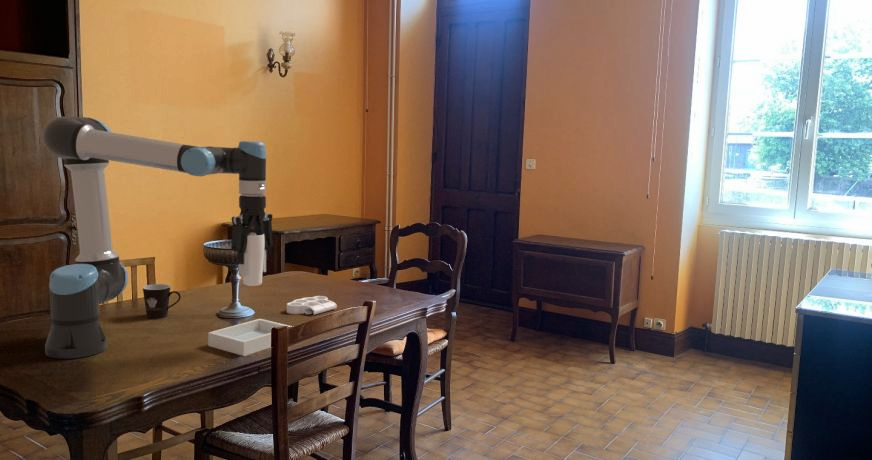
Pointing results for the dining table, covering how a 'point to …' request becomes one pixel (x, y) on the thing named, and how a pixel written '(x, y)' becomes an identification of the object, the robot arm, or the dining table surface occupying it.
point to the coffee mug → (157, 300)
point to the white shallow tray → (244, 337)
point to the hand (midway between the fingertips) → (252, 272)
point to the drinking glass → (254, 259)
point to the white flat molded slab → (310, 305)
